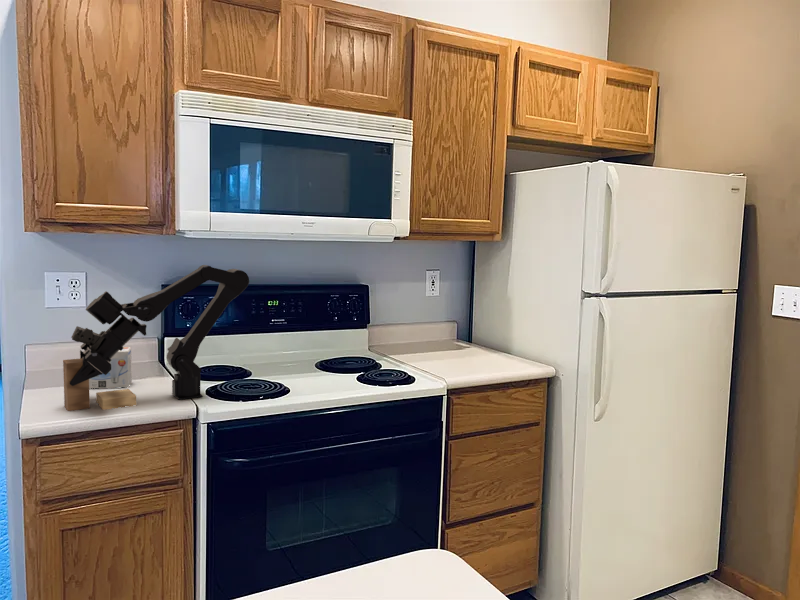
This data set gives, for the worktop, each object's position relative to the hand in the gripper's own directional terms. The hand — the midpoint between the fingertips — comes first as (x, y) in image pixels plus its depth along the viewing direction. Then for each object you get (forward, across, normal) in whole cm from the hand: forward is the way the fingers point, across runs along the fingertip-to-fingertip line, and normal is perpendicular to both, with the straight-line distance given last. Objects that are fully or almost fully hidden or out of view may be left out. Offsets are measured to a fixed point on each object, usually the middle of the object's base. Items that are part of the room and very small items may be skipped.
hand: (70, 382), depth 162 cm
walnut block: (+4, 0, +6) cm, 7 cm away
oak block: (-2, 0, +12) cm, 13 cm away
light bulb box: (-3, -20, +13) cm, 24 cm away
